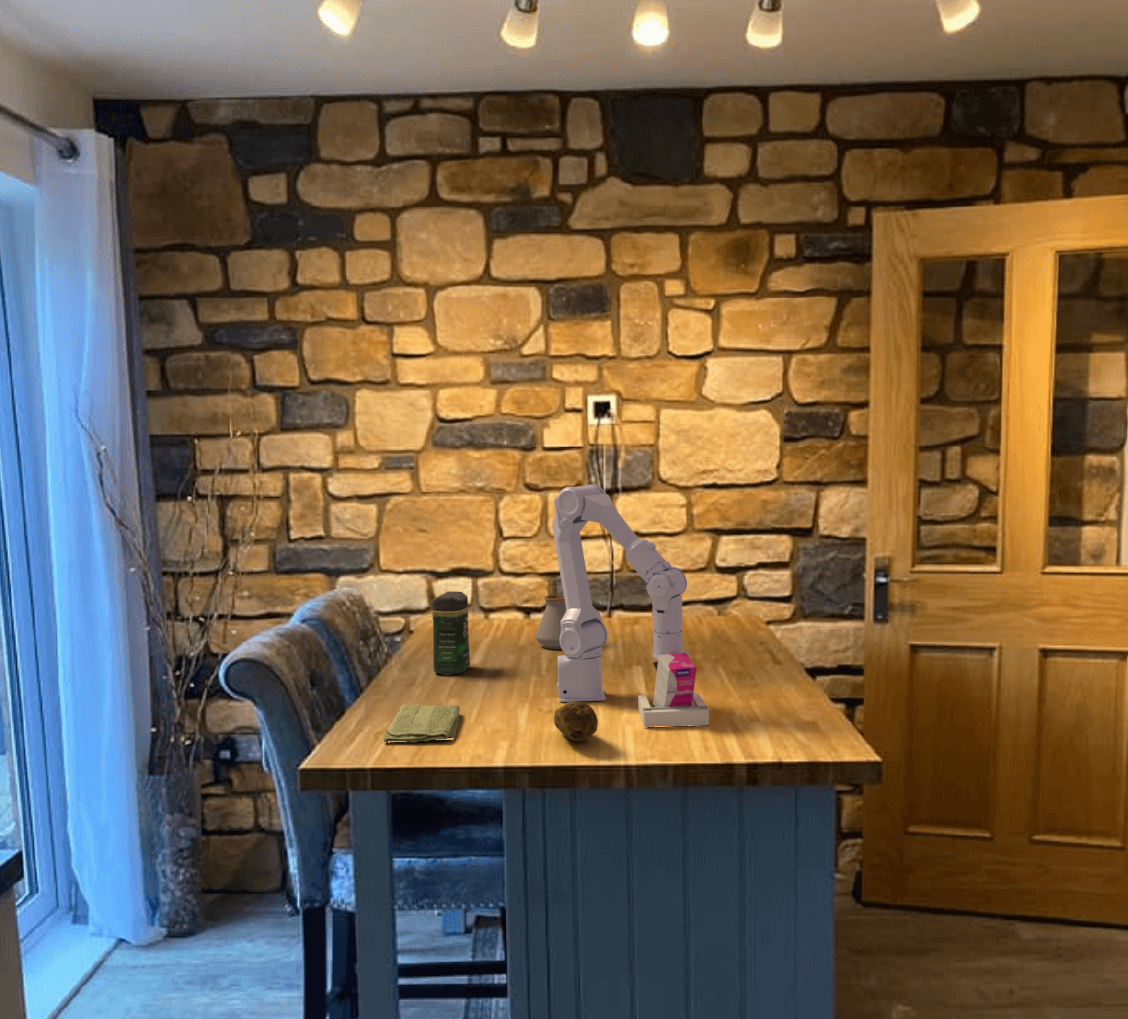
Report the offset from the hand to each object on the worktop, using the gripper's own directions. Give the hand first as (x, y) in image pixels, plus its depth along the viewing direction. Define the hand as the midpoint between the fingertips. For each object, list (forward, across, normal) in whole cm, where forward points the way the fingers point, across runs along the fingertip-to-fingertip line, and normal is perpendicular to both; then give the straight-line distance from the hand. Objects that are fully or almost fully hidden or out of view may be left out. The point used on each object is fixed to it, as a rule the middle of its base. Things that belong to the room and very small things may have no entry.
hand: (669, 698), depth 184 cm
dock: (+2, -4, 0) cm, 5 cm away
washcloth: (+3, -6, +47) cm, 48 cm away
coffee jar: (+3, +37, +46) cm, 59 cm away
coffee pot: (+3, +64, +21) cm, 67 cm away
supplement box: (+2, -3, 0) cm, 4 cm away
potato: (+3, -16, +19) cm, 25 cm away
